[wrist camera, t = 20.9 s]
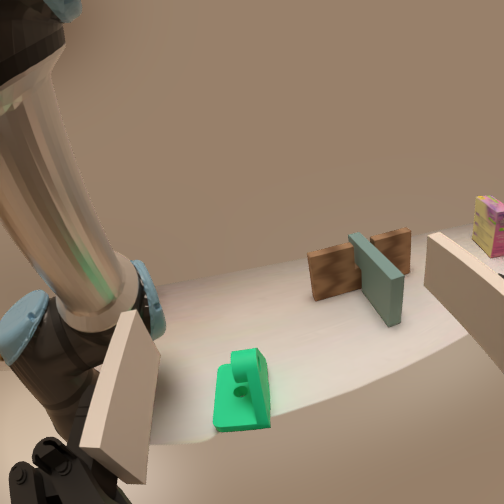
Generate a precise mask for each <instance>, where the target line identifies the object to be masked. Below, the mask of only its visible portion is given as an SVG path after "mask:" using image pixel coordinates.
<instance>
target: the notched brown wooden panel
mask: <svg viewBox="0 0 504 504" xmlns="http://www.w3.org/2000/svg"><path fill="white" fill-rule="evenodd" d="M370 243H371V244H372V245H374V246H375V247H376V248H377V249H378V250H379V251H380V252H381V253H382V254H383V255H384V256H385V257H386V258H387V259H388V260H389V261H390V262H391V263H392V264H393V265H394V266H395V267H396V268H397V269H398V270H399V271H400V272H401V273H402V274H403V275H405V274H408V273H410V255H411V230H409V229H408V228H401V229H398V230H394V231H390V232H387V233H383V234H379V235H375V236H371V237H370ZM307 257H308V264H309V271H310V278H311V286H312V293H313V297H314V299H315V301H318V300H322V299H326V298H329V297H333V296H336V295H340V294H343V293H347V292H350V291H353V290H357V289H360V288H362V273H361V269H360V268H359V267H358V265H357V264H356V263H355V259H354V246H353V245H352V244H351V243H350V242H348V243H344V244H340V245H336V246H333V247H329V248H325V249H321V250H317V251H313V252H309V253H307Z"/></svg>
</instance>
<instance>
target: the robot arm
mask: <svg viewBox="0 0 504 504" xmlns="http://www.w3.org/2000/svg"><path fill="white" fill-rule="evenodd" d="M81 12H82V4H81V0H0V223H1V224H2V226H3V227H4V229H5V230H6V232H7V233H8V235H9V236H10V237H11V238H12V240H13V241H14V243H15V244H16V246H17V247H18V248H19V250H20V251H21V252H22V254H23V255H24V256H25V258H26V259H27V260H28V261H29V263H30V264H31V265H32V267H33V268H34V269H35V270H36V272H37V273H38V274H39V275H40V276H41V278H42V279H43V280H44V281H45V282H46V284H47V285H48V286H49V287H50V288H51V289H52V291H53V292H54V293H55V294H56V296H55V297H53V298H49V296H48V294H47V293H46V292H44V291H43V290H38V291H37V290H35V291H33V292H30V293H29V294H27V295H25V296H24V297H23V298H21V299H20V300H19V301H18V302H16V304H14V305H13V306H12V307H11V308H10V309H9V310H8V311H7V313H6V314H5V315H4V316H3V318H2V319H1V321H0V354H1V355H2V357H3V359H4V360H5V363H6V364H7V365H8V366H9V367H10V368H11V369H12V371H13V372H14V373H15V374H16V375H17V377H18V378H19V379H20V380H21V382H22V383H23V384H24V385H25V386H26V388H27V389H28V390H29V391H30V392H31V393H32V394H33V395H34V397H35V398H36V399H37V400H38V401H39V402H40V403H41V404H42V405H43V407H44V408H45V409H46V411H47V413H48V415H49V417H50V419H51V421H52V422H53V425H54V427H55V429H56V431H57V433H58V434H59V435H60V436H61V437H62V438H63V439H64V440H65V441H66V442H67V446H65V445H64V444H63V443H62V442H61V441H60V440H58V439H56V438H54V437H46V438H44V439H42V440H41V441H40V442H39V443H37V445H36V446H35V448H34V450H33V454H32V461H33V463H34V464H35V465H36V466H38V467H39V468H34V467H33V466H31V465H30V464H29V463H27V462H24V461H22V462H18V463H16V464H15V465H14V466H13V467H12V468H11V471H10V473H9V488H10V498H11V504H132V503H131V502H130V501H129V499H128V498H127V497H126V495H125V494H124V493H123V491H122V490H121V489H120V488H119V487H118V486H117V479H118V478H119V479H120V480H122V481H123V482H125V483H126V484H146V474H147V462H148V451H149V441H150V431H151V423H152V414H153V406H154V398H155V391H156V384H157V377H158V370H159V363H160V357H161V355H160V353H159V351H158V349H157V347H156V346H155V344H154V342H153V341H154V340H155V339H157V338H159V337H161V336H162V335H163V334H164V333H165V330H166V321H165V317H164V313H163V310H162V307H161V305H160V303H159V298H158V294H157V292H156V289H155V287H154V284H153V282H152V279H151V277H150V275H149V273H148V270H147V268H146V267H145V265H144V263H143V262H141V261H139V260H134V261H130V260H129V259H128V258H127V257H125V256H124V255H122V254H121V253H118V252H116V251H113V249H112V247H111V245H110V242H109V240H108V238H107V236H106V234H105V231H104V229H103V227H102V225H101V222H100V220H99V218H98V215H97V213H96V211H95V208H94V206H93V204H92V201H91V199H90V196H89V194H88V191H87V188H86V186H85V183H84V181H83V178H82V175H81V173H80V170H79V167H78V165H77V162H76V159H75V156H74V153H73V150H72V147H71V145H70V142H69V139H68V136H67V132H66V129H65V126H64V123H63V119H62V116H61V113H60V109H59V106H58V102H57V98H56V95H55V91H54V87H53V83H52V79H51V71H52V68H53V67H54V65H55V63H56V61H57V60H58V58H59V57H60V55H61V53H62V52H63V50H64V49H65V47H66V43H65V36H64V30H63V24H64V23H71V22H72V21H73V19H75V18H77V17H78V16H79V15H80V14H81ZM424 286H425V287H426V288H427V289H428V290H429V291H430V292H431V293H432V294H433V295H434V296H435V297H436V298H437V300H438V301H439V302H440V303H441V304H442V305H443V306H444V307H445V308H446V309H447V310H448V311H449V312H450V313H451V314H452V315H453V316H454V317H455V318H456V319H457V321H458V322H459V323H460V324H461V325H462V326H463V327H464V328H465V329H466V330H467V331H468V333H469V334H470V335H471V336H472V337H473V338H474V339H475V340H476V341H477V343H478V344H479V345H480V346H481V347H482V348H483V349H484V351H485V352H486V353H487V354H488V355H489V357H490V358H491V359H492V360H493V361H494V363H495V364H496V365H497V366H498V367H499V369H500V370H501V371H502V372H503V373H504V275H502V274H497V273H496V272H494V271H493V270H492V269H490V268H489V267H488V266H486V265H485V264H484V263H483V262H481V261H480V260H479V259H477V258H476V257H475V256H473V255H472V254H470V253H469V252H468V251H466V250H465V249H464V248H462V247H461V246H459V245H458V244H457V243H455V242H454V241H452V240H451V239H449V238H448V237H446V236H445V235H443V234H442V233H441V232H438V233H434V234H431V235H427V253H426V266H425V277H424ZM101 364H103V365H102V368H101V371H100V372H98V371H97V370H96V369H94V367H96V366H98V365H101Z"/></svg>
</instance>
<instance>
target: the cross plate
mask: <svg viewBox="0 0 504 504" xmlns="http://www.w3.org/2000/svg"><path fill="white" fill-rule="evenodd" d="M348 239H349V242H350V243H351V244H352V245H353V246H354V259H355V263H356V264H357V265H358V267H359V268H360V269H361V273H362V292H363V293H364V294H365V296H366V297H367V298H368V300H369V301H370V302H371V304H372V305H373V307H374V308H375V309H376V311H377V312H378V313H379V315H380V316H381V318H382V319H383V320H384V322H385V323H386V325H387V326H388V327H390V326H393V325H396V324H399V323H400V322H401V313H402V302H403V290H404V275H403V274H402V273H401V272H400V271H399V270H398V269H397V268H396V267H395V266H394V265H393V264H392V263H391V262H390V261H389V260H388V259H387V258H386V257H385V256H384V255H383V254H382V253H381V252H380V251H379V250H378V249H377V248H376V247H375V246H374V245H372V244H371V243H370V242H369V241H368V240H367V239H366V238H365V237H364V236H363V235H362V234H361V233H359V232H358V233H354V234H350V235H348Z"/></svg>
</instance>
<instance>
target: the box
mask: <svg viewBox="0 0 504 504" xmlns="http://www.w3.org/2000/svg"><path fill="white" fill-rule="evenodd" d="M474 216H475V217H474V226H473V235H472V239H473V240H474V241H475V242H476V243H477V244H478V245H479V246H480V247H481V248H482V249H483V250H484V251H485V252H486V254H487V255H488V256H489V257H490V258H494V257H500V256H504V204H503V203H501V202H500V201H499V200H497V199H495V198H494V197H493V196H478V197H476V202H475V215H474Z"/></svg>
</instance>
